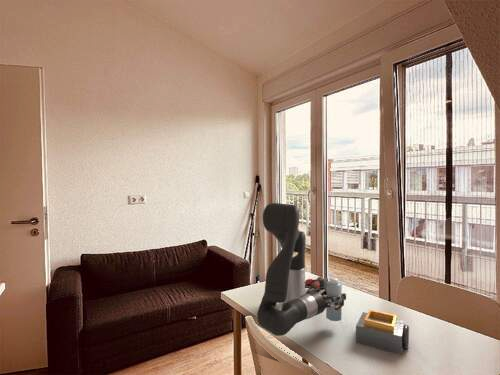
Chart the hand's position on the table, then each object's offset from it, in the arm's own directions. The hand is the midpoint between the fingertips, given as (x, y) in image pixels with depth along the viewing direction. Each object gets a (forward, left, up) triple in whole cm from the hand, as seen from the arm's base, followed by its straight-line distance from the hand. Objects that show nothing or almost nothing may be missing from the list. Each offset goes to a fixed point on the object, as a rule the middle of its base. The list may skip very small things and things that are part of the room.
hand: (337, 293), depth 112 cm
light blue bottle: (-1, -2, -9) cm, 9 cm away
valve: (-23, +30, -14) cm, 40 cm away
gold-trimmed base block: (+15, -2, -13) cm, 20 cm away
